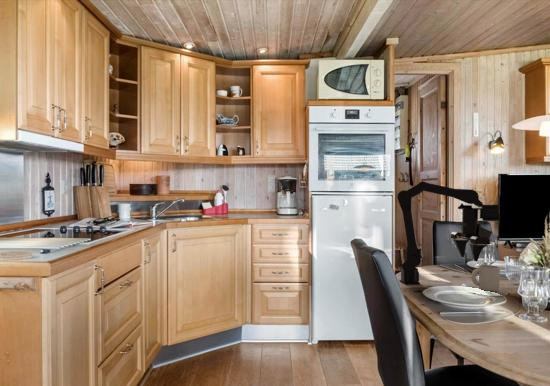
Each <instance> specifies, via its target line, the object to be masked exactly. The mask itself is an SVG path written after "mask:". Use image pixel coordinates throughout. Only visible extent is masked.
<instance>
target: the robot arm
mask: <svg viewBox="0 0 550 386" xmlns="http://www.w3.org/2000/svg"><path fill="white" fill-rule="evenodd" d="M422 192H427V193H432V194H437V195H442V196H445V197H449V198H454V199H456V200H458V201H460V202H461V204H460V205H459V206H457V209H458V210H462V213H461V214H462V215H461V216H462V217H461V219H462V221H461V222H459V225H460V226H461V231H452V232H451V233H450V239H452V241H453V243H454V245H455V247H456V249H457V250H458V252H459V255H460V257H461V258H465V255H466V247H467V246H466V245H467V244H468V243H469V242H470V243H469V246H470V250H471V254H472V259H473V261H474V262H478V260H479V258H480V255H481V253H482V251H483V249H484V248H486V247H487V246H489V245H491V236H492V233H493V231H492V230H489V229H486V228H484V227H483V226H482V225H481V223H479V219H481V220H482V222H497V223H498V222H499V221H500V208H499V204H497V203H496V204H494V203H493V204H483V202H482V201H481V200H480V199H479V197H480V195H479V193H478V191H476V190H475V189H467V188H466V189H465V188H453V187H448V186H444V185H438V184H435V183H430V182H426V181H420V182H419V183H417V184H416V185H414V186H412V187H410V188H409V189H403V190H400V191H399V192H398V193H397V198H396V199H397V201H398V203H399V207H400V209H401V211H402V216H403V218H402V219H403V223H404V224H403V225H404V230H405V237H406V243H407V247H406V259H404V260H403V261H402V263H401V265H400V266H401V267H400V279H399V280H398V281H399V282H400V283H401V284H405V285H420V284H421V283H420V272H419V268H417V266H420V264H421V262H422V260H423V258H424V254H423V247H422V246H419V245H418V241H417V235H416V228H415V223H414V215H413V205H414V204H413V201H414V200H413V199H414V197H416V196H417V195H420V194H421V193H422ZM464 203H466V204H464ZM473 205H474V206H476V207H473Z"/></svg>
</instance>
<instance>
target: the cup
mask: <svg viewBox="0 0 550 386" xmlns="http://www.w3.org/2000/svg"><path fill="white" fill-rule="evenodd" d="M478 267H479V268H475V269H473V271H472V272H471V281H472V283H473V285H478V286H479V289H481V290H485V291H493V292H494V291H499V288H500V284H501V282H500V281H501V278H500V276H501V267H500V266H497V265H491V264H480V265H479V266H478ZM477 274H478V280H477Z"/></svg>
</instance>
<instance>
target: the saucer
mask: <svg viewBox="0 0 550 386" xmlns="http://www.w3.org/2000/svg"><path fill="white" fill-rule="evenodd" d="M466 287H472V288H479V286H478V285H475V284H473V285H467V286H466ZM484 291H485V290H484ZM490 292H493V291H490ZM494 292H495V293H498V294H500V295H503V296H502V297H505V296H508V295H509V291H508V290H507V289H504V288H501V287H499V291H494Z"/></svg>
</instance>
